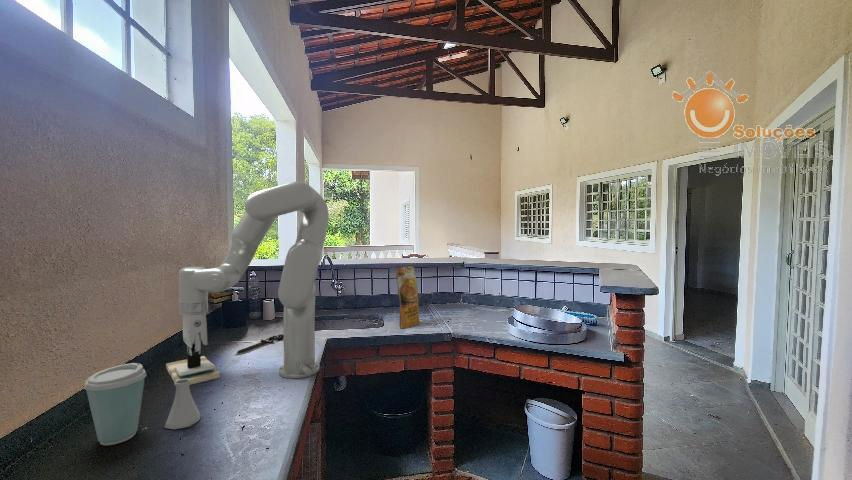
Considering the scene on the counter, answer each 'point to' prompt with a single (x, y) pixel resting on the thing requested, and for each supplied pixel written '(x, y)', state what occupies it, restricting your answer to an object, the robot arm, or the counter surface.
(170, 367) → the board
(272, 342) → the knife
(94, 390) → the disposable coffee cup
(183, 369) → the tile
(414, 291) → the pancake mix bag
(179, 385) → the flask
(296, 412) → the counter surface
